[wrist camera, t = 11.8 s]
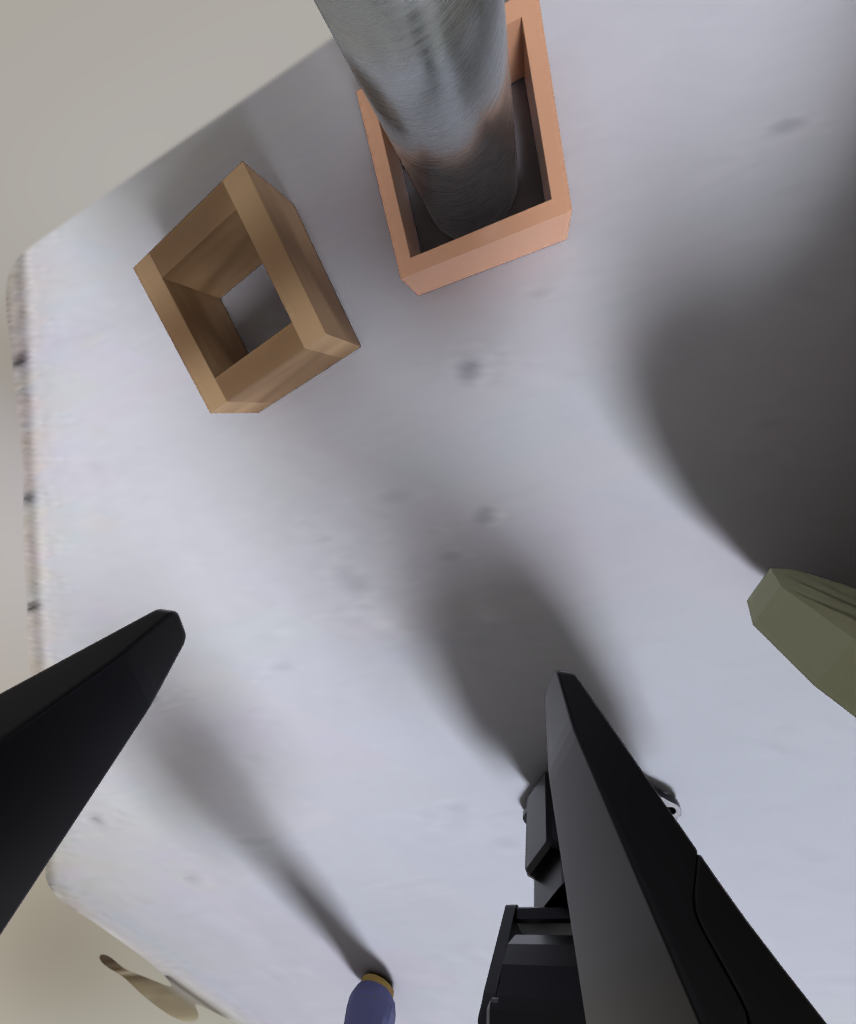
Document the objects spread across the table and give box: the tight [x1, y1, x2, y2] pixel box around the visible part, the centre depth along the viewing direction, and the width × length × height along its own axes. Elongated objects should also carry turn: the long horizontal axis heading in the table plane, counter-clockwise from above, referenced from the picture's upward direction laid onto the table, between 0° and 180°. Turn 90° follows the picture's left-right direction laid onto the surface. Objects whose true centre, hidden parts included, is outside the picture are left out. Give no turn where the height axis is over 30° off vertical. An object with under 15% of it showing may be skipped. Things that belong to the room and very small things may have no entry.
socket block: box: [356, 0, 572, 296], centre depth 16 cm, size 7×7×2 cm
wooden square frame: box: [133, 161, 361, 413], centre depth 19 cm, size 7×7×4 cm
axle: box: [314, 0, 518, 239], centre depth 11 cm, size 4×4×13 cm
